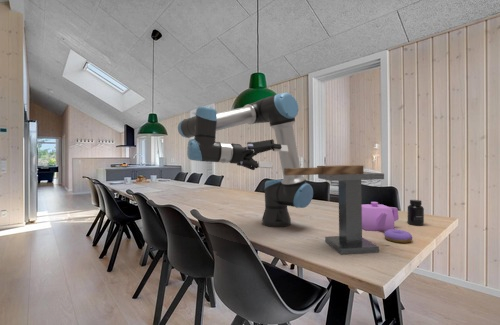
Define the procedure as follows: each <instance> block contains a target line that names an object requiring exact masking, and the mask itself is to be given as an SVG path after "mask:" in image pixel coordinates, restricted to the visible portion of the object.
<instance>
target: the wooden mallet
mask: <svg viewBox="0 0 500 325" xmlns="http://www.w3.org/2000/svg"><path fill="white" fill-rule="evenodd" d="M364 172H365V171H364V165H360V164H359V165H357V164H355V165H354V164H342V165H341V164H339V165H317V166H316V167H300V168H284V175H302V176H307V175H309V176H311V175H312V176H314V175H316V176H318V175H320V174H324V175H340V174H364Z"/></svg>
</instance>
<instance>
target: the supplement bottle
mask: <svg viewBox="0 0 500 325" xmlns="http://www.w3.org/2000/svg"><path fill="white" fill-rule="evenodd" d="M424 218H425V208H424V207H423V205H422V200H420V199H409V205H407V224H408V225H410V226H417V227H421V226H424V225H425V224H424V222H425V219H424Z"/></svg>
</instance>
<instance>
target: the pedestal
mask: <svg viewBox="0 0 500 325" xmlns="http://www.w3.org/2000/svg"><path fill="white" fill-rule="evenodd" d="M317 179H320V180H324V181H325V180H326V181H333V182H335V181H338V183H337V185H338V186H337V187H338V235H334V236H333V235H332V236H330V235H329V236H325V237H324V238H325V242H326V243H327V244H328V245H329V246H330V247H331V248H333V249H334V250H335V251H336V252H338V253H339V254H340V255H358V254H370V253H371V254H372V253H373V254H374V253H379V252H380V246H379V245H377V244H375V243H373V242H372V241H370V240H368V239H366V238H365V237H363V229H362V203H363V202H362V199H363V198H362V181H363V180H364V181H365V180H368V181H369V180H385V173H382V172H368V171H364V174H340V175H324V174H320V175H317Z"/></svg>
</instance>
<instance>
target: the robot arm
mask: <svg viewBox="0 0 500 325" xmlns="http://www.w3.org/2000/svg"><path fill="white" fill-rule="evenodd" d="M298 114H299V103H298V101H297V99H296V98H295V97H294V96H293V95H292V94H291V93H288V92H281V93H277V94H274V95H270V96H268V97H265V98H264V97H263V98H261V99H259V100H257V101H255V102H252V103H248V104H245V105H244V106H243V107H238V108H234V109H233V108H232V109H228V110H224V111H219V112H217V109H215V108H214V107H211V106H210V107H209V106H199V107H197V108H196V111H195V116H192V117H188V118H184V119H182V120H181V121H179V122H178V125H177V131H178V133H179V135H180V136H181V137H183V138H188V139H189V138H191V139H189V140H188V143H187V149H186V150H187V151H186V153H187V158H188V159H189V160H190V161H196V162H208V163H209V162H210V163H222V164H229V163H230V164H235V165H236V166H239V167H240V166H241V167H244V168H245V169H249V170H252V171H255V170H256V169H258V168H261V169H262V168H263V169H273V168H274V165H273V164H274V163H273V162H272V161H263V160H258V161H257V160H255V159H254V158H253V157H254V156H257V155H258V154H261V153H265V152H268V151H272V152H278V155H279V160H280V166H281V170H282V176H283V178H282V179H274V180H272V179H271V180H266V181H265V182H264V203H265V204H264V205H265V206H264V212H263V215H262V218H261V222H262V223H261V224H262V225H263V226H265V227H266V226H267V227H273V228H280V227H289V226H290V225H291V224H292V220H291V216H290V212H289V210H288V207H292V208H296V209H299V208H300V209H304V208H306V207H308V206H309V205H310V204H311V203H312V200H313V197H314V189H313V187H312V185H311V184H310V183H307V179H306V177H305V175H284V168H301V165H300V159H299V155H298V154H299V152H298V148H297V147H298V146H297V142H296V137H295V132H294V124H295V122H296V119H295V118H296V117H297V115H298ZM262 123H263V124H264V123H269V126H270V128H272V129H273V130H274V134H275V140H276V143H275V140H274V139H267V140H260V141H259V140H258V141H253V142H252V141H249V142H247V143H246V144H247V145H246V146H243V145H242V144H241V143H234V142H233V143H230V142H223V141H220V142H219V141H216V134H217V131H222V130H225V129H229V128H233V127H236V126H237V127H238V126H240V125H245V124H248V125H254V124H262ZM193 137H194V138H193ZM192 138H193V139H192Z"/></svg>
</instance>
